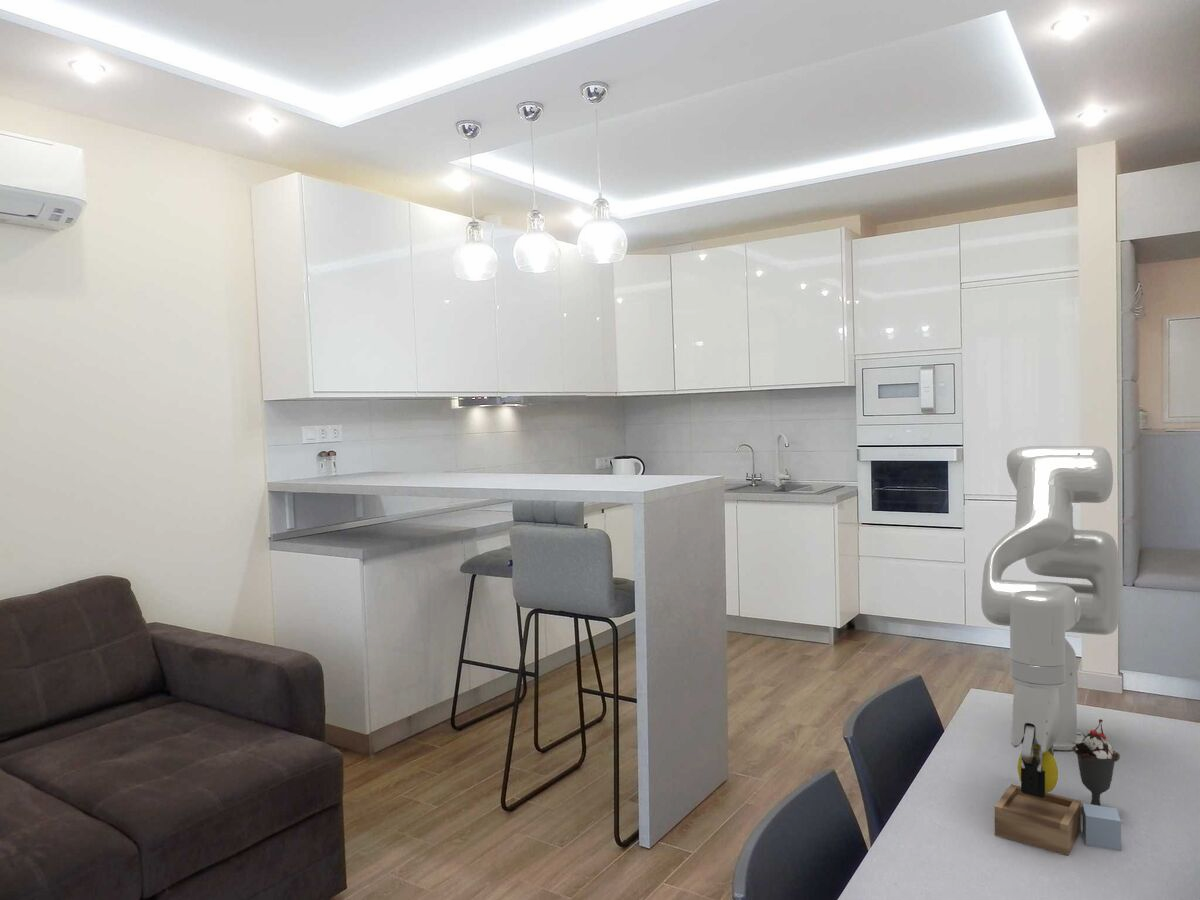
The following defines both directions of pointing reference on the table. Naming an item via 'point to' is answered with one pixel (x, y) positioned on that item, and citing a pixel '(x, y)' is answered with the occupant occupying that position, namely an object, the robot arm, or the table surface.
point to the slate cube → (1101, 826)
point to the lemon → (1045, 769)
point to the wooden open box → (1038, 820)
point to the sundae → (1096, 763)
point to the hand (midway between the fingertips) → (1037, 786)
